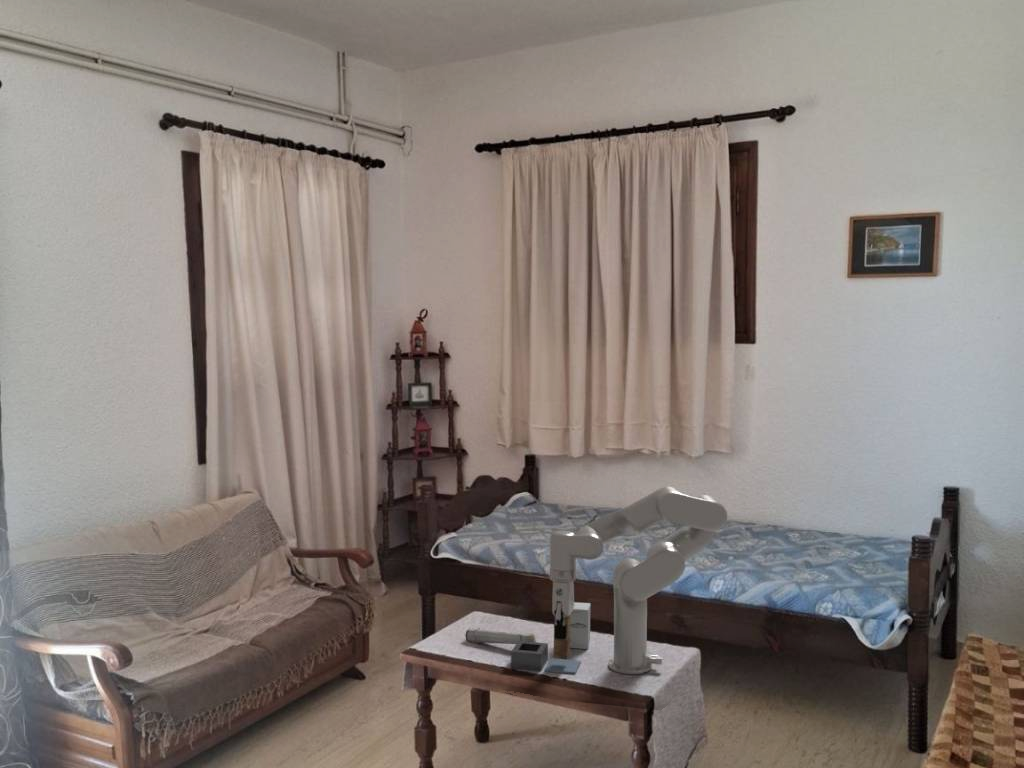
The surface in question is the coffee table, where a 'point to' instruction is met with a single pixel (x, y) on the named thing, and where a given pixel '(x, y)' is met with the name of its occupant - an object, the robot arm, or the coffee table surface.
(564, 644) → the key peg
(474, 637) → the grey wand device
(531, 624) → the coffee table surface
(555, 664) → the rubber mat
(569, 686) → the coffee table surface
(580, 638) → the supplement box
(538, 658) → the block
